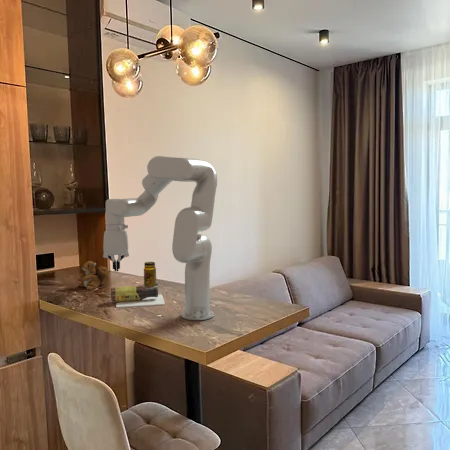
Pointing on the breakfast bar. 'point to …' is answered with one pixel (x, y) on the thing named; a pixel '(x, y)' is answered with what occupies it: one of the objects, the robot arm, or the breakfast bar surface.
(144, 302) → the mat
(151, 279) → the condiment
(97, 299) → the breakfast bar surface
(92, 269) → the stuffed squirrel
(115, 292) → the sauce bottle
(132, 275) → the breakfast bar surface
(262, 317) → the breakfast bar surface
